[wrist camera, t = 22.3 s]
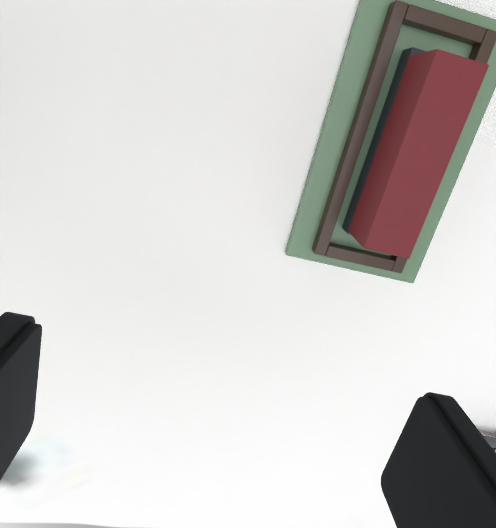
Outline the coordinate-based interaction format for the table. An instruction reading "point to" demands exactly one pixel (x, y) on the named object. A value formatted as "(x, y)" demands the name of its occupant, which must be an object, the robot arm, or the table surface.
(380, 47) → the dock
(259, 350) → the table surface
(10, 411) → the robot arm
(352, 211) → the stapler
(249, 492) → the table surface
